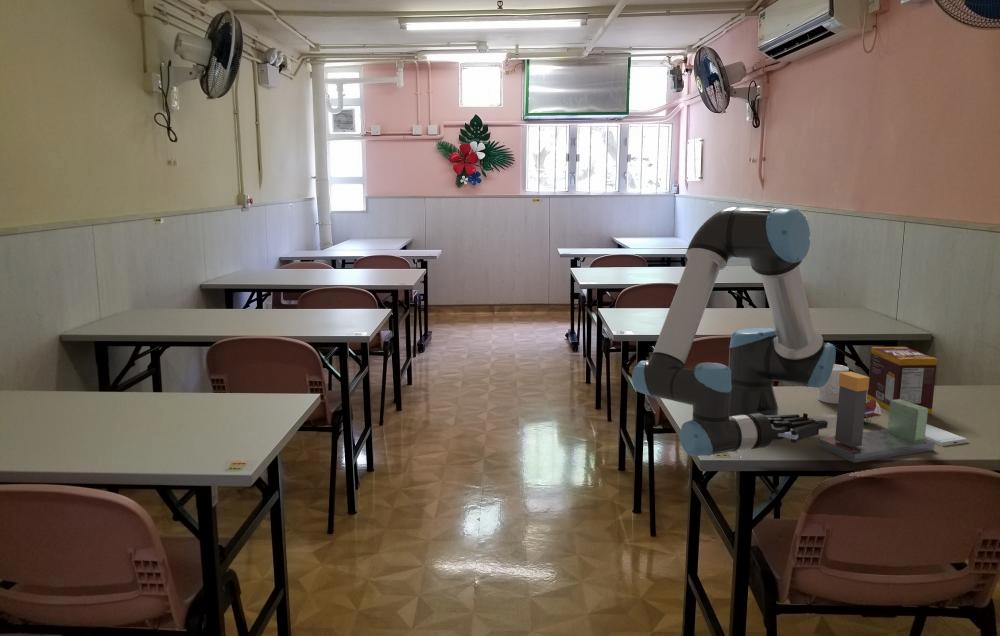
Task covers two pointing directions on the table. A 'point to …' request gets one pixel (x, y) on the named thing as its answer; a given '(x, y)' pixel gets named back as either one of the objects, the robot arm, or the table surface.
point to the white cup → (832, 386)
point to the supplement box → (901, 376)
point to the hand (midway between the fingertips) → (833, 420)
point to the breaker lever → (851, 408)
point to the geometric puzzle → (872, 410)
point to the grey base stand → (888, 436)
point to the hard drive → (942, 436)
